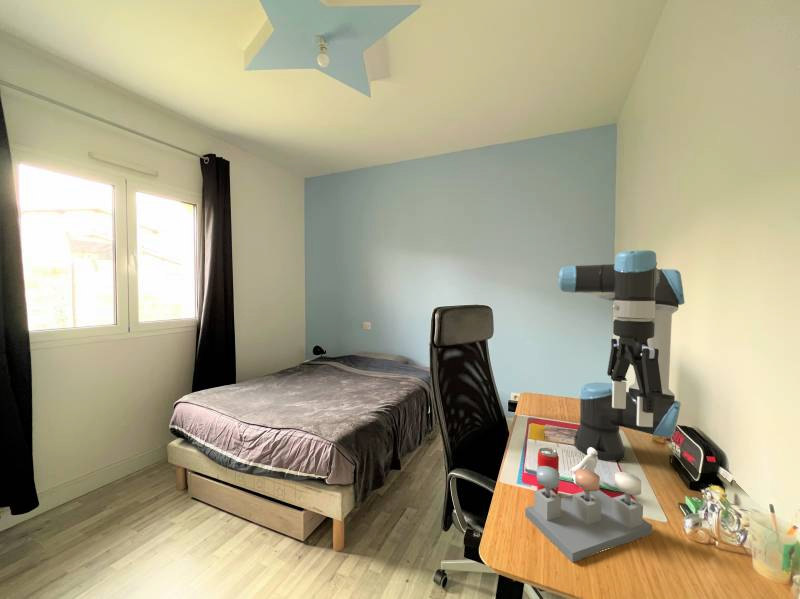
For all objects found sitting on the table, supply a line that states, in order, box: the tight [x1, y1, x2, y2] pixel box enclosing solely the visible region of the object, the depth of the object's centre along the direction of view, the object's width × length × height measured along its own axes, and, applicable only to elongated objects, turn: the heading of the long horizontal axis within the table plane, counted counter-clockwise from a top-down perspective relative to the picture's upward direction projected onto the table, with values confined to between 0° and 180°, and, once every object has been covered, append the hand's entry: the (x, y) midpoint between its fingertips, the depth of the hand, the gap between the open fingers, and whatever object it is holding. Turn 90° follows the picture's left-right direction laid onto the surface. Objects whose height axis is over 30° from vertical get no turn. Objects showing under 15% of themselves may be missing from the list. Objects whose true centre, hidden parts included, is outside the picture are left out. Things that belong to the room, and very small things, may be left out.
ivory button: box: [614, 471, 642, 506], centre depth 73 cm, size 5×5×7 cm
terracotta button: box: [574, 469, 601, 502], centre depth 74 cm, size 5×5×7 cm
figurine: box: [570, 447, 599, 488], centre depth 90 cm, size 8×8×12 cm
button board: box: [524, 488, 653, 563], centre depth 75 cm, size 24×14×6 cm, turn 108°
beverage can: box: [536, 447, 560, 496], centre depth 85 cm, size 5×5×12 cm
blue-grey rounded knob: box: [536, 466, 560, 498], centre depth 76 cm, size 5×5×7 cm
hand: (630, 416), depth 71 cm, fingers open, 9 cm apart
